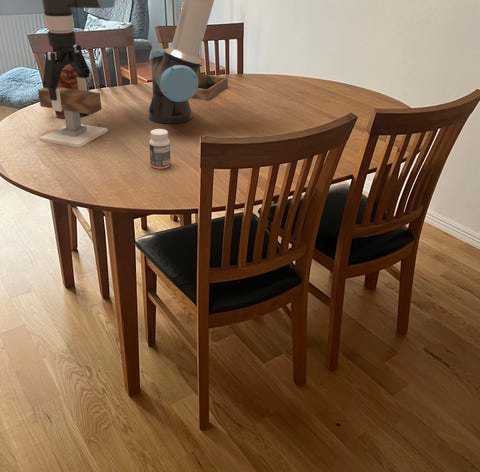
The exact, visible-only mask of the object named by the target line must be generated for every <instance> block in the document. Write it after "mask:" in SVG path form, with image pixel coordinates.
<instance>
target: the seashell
mask: <svg viewBox="0 0 480 472" xmlns="http://www.w3.org/2000/svg"><path fill="white" fill-rule="evenodd" d="M208 75H209V74H207V73H206V74H205V73H199V72H198V75H197V77H198V88H200V89H209V88H210V87H212V86H213V85H215V82H214V81H213V80H212V79H211V78H210V77H209V76H210V75H209V76H208Z"/></svg>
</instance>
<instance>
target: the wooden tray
mask: <svg viewBox="0 0 480 472" xmlns="http://www.w3.org/2000/svg"><path fill="white" fill-rule="evenodd" d="M207 75H208V76H209V77H210V78H211V79H212V80H213V81H214V82H215V85H213V86H212V87H210V88H209V89H200V88H198V89H197V91H196V93H195V94H194V96H193V97H191V98H190V99H194V100H195V99H196V100H200V101H202V100H203V101H207V102H208V101H210V100H212V99H213V98H214V97H216V96H217V95H218V94H220V93H221V92H223V91H225V90H226V89H227V88H228V80H229V78H228V77H224V76H216V75H209V74H207Z"/></svg>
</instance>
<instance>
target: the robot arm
mask: <svg viewBox="0 0 480 472" xmlns="http://www.w3.org/2000/svg"><path fill="white" fill-rule="evenodd" d="M41 2H42V5H43V13H44V18H45V24H46V30H48V31H47V33H46V34H47V40H48V44H49V45H50V46H51V47H52V52H51V51H46V52H45V55H44V56H45V64H44V71H43V79H42V80H43V81H42V88H48V89H49V94H50V99H51V102H52V108H51V109H52V111H54V112H55V111H62V106H61V99H60V93H59V89H58V88H57V85H58V82H59V79H60V75H61V72H62V69H63V68H64V67H65V66H66V65H68V64H70V65H71V67H72V68H73V69H74V71H75V72H76V73H77V75H78V76H79V77H77V83H78V90H82V91H87V87H88V81H87V82H86V79H88V78H89V77H90V74H91V70H90V67H89V66H88V64H87V60H86V59H85V56H84V55H83V52H82V47H81V45H80V44H77V41H76V40H77V39H76V38H77V37H76V32H75V31H74V30H75V24H74V23H75V22H74V17H73V16H74V14H73V9H80V8H81V9H101V10H102V9H108V8H109V9H110V8H114V6H115V3H116V2H115V0H42V1H41ZM214 3H215V0H183V1H182V6H181V10H180V13H179V17H178V20H177V21H178V22H177V24H176V28H175V32H174V35H173V40H172V43H171V46H170V47H168V48H164V49H163V48H159V49H154V50H152V51H150V52H151V53H150V62H151V82H152V85H151V87H152V98H151V102H150V105H149V109H148V118H149V120H151V121H153V122H156V123H160V124H168V125H169V124H181V123H185V122H188V121H190V120H191V119H192V118H193V112H192V107H191V105H190V102H189V100H190V99H192V98H191V97H193V96H194V94H195V93H196V91H197V89H198V77H197V75H198V73H199V70H200V67H201V64H202V61H201V59H200V57H199V54H200V50H201V47H202V44H203V40H204V37H205V34H206V30H207V27H208V22H209V20H210V16H211V13H212V10H213V6H214Z"/></svg>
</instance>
